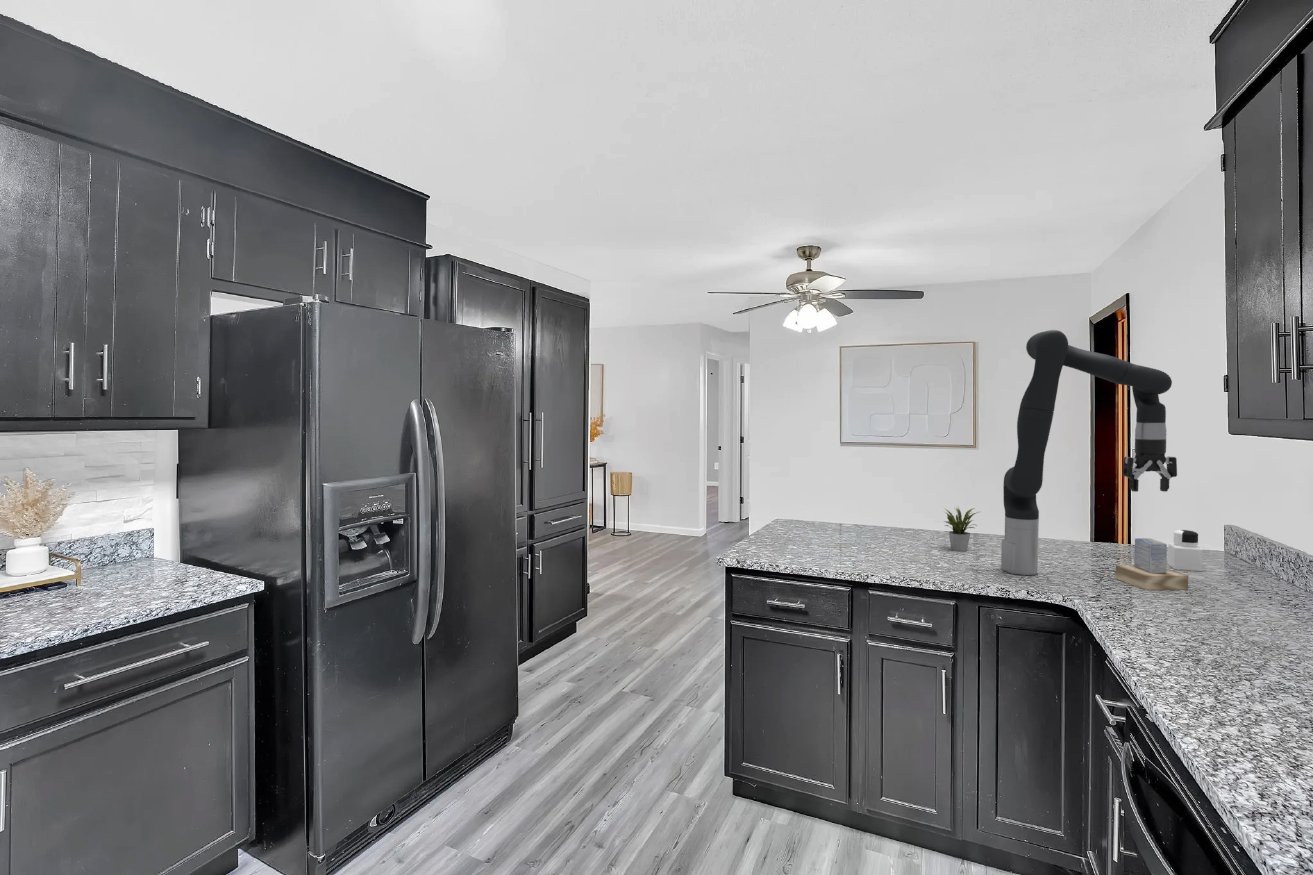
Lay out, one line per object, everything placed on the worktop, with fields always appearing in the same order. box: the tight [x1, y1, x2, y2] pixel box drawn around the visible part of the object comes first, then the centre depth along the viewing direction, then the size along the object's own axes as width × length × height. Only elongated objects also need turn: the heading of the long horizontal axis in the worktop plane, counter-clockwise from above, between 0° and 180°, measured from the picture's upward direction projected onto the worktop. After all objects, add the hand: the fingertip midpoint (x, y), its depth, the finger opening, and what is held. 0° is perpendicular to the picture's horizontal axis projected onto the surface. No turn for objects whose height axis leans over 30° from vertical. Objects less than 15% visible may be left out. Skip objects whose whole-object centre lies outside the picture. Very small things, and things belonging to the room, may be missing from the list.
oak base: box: [1115, 564, 1189, 591], centre depth 188 cm, size 12×12×4 cm
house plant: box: [943, 506, 980, 552], centre depth 233 cm, size 14×14×16 cm
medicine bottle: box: [1167, 529, 1204, 572], centre depth 205 cm, size 7×7×12 cm
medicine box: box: [1133, 537, 1168, 573], centre depth 188 cm, size 8×4×9 cm, turn 172°
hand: (1149, 491), depth 195 cm, fingers open, 8 cm apart
